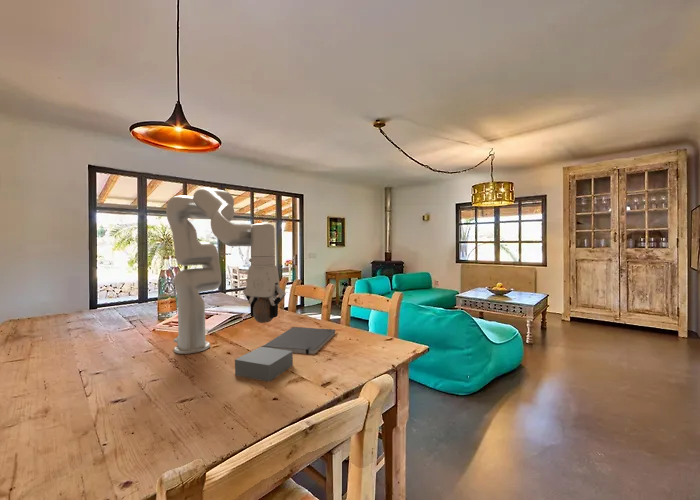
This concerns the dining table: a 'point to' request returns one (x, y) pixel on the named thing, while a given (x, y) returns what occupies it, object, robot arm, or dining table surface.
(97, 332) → the dining table surface
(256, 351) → the slate block
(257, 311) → the vase
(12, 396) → the dining table surface
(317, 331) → the notebook
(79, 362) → the dining table surface
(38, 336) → the dining table surface
